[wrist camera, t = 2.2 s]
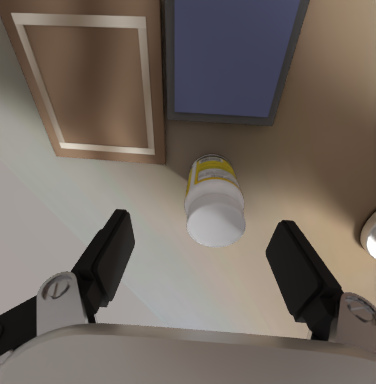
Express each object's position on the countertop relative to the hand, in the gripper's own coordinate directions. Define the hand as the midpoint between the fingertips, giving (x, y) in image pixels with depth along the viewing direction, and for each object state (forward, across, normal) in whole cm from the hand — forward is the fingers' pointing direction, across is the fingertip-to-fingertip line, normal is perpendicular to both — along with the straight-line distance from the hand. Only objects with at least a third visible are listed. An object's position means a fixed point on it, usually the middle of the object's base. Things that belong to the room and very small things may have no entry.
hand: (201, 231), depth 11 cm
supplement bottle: (+9, -1, 0) cm, 9 cm away
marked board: (+9, +10, -7) cm, 15 cm away
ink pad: (+9, -1, -10) cm, 13 cm away
